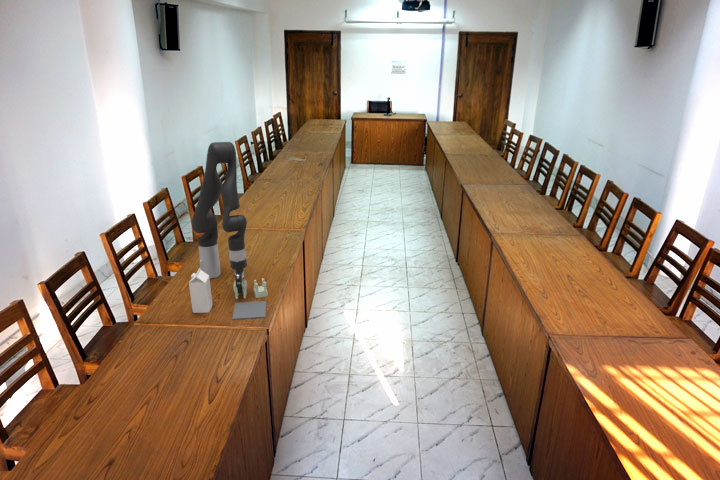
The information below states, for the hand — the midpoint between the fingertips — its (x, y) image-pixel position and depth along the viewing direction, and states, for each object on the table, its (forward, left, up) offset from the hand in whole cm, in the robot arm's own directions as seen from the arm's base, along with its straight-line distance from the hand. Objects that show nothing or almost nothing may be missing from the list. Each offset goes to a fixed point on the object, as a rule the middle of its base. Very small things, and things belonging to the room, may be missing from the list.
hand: (241, 289), depth 237 cm
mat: (+5, -14, -4) cm, 15 cm away
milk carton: (-16, -10, -4) cm, 20 cm away
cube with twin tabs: (0, 0, -4) cm, 4 cm away
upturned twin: (+9, +1, -4) cm, 10 cm away
